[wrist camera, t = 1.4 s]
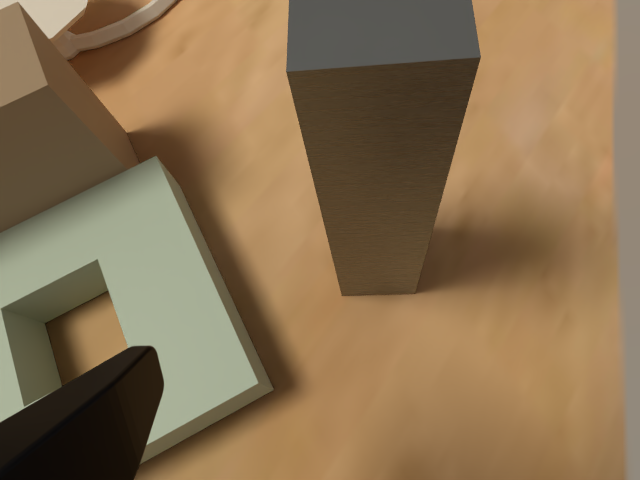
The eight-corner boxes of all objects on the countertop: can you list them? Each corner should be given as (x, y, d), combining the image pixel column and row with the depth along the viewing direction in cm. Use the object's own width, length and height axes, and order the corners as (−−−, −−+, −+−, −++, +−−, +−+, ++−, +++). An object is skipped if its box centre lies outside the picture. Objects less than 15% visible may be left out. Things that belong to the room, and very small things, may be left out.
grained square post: (414, 293, 22) (480, 57, 8) (341, 295, 22) (286, 71, 9) (410, 226, 23) (459, -76, 9) (341, 229, 24) (291, -59, 10)
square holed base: (274, 389, 21) (207, 360, 13) (-1, 542, 20) (-270, 620, 12) (149, 120, 28) (52, -15, 19) (-63, 224, 26) (-263, 128, 18)
